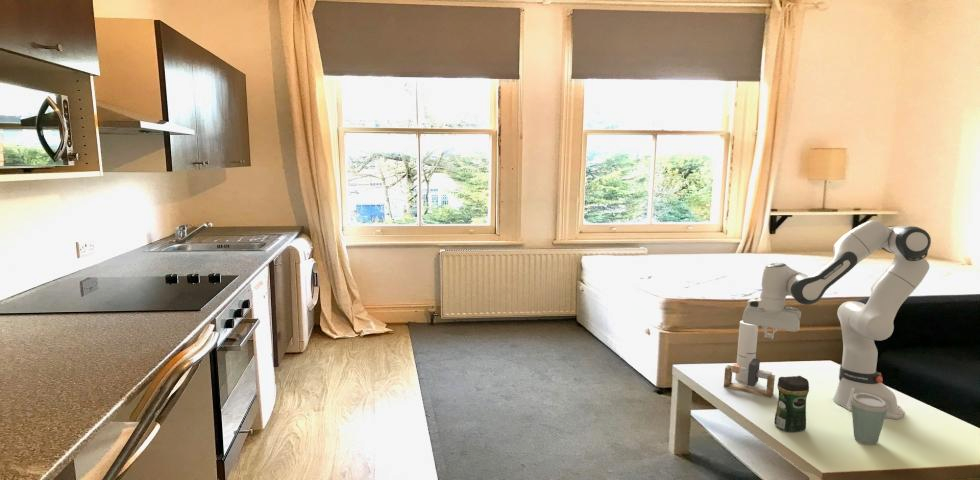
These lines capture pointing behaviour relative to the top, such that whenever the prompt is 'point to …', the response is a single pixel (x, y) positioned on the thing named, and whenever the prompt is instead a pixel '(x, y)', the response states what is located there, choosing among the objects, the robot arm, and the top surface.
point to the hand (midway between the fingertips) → (768, 338)
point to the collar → (753, 372)
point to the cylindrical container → (746, 347)
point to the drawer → (767, 392)
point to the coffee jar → (792, 403)
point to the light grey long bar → (744, 370)
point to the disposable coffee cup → (867, 417)
